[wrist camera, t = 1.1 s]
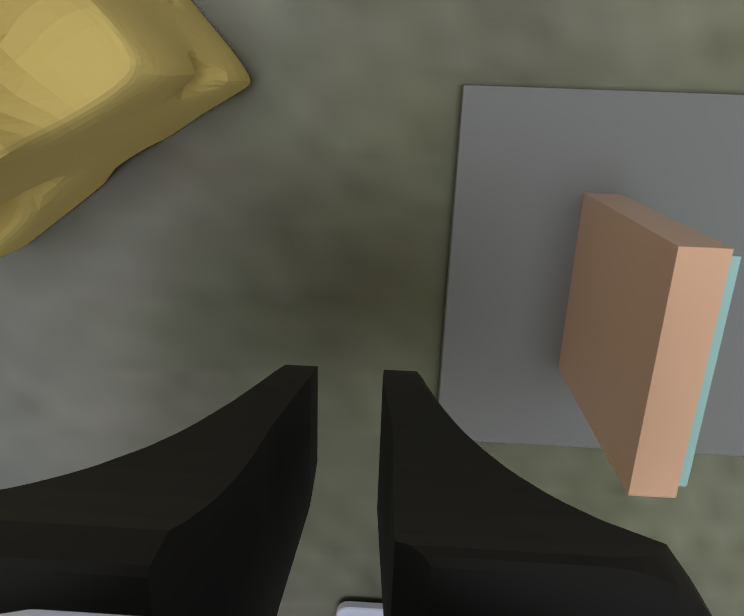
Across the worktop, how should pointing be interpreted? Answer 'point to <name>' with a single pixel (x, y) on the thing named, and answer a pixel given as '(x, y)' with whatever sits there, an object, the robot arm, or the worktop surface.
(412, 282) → the worktop surface
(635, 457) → the tile
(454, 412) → the mat
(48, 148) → the cheese
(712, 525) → the worktop surface
